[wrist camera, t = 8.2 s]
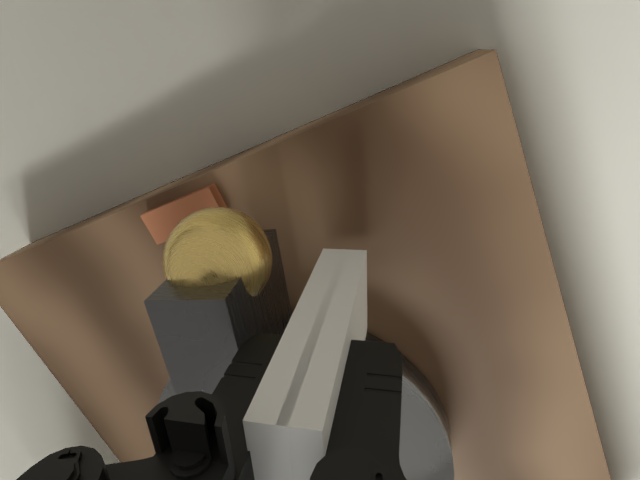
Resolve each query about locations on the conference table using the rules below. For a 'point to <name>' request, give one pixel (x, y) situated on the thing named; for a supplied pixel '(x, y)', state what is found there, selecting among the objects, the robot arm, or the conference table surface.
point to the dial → (259, 323)
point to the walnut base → (382, 271)
